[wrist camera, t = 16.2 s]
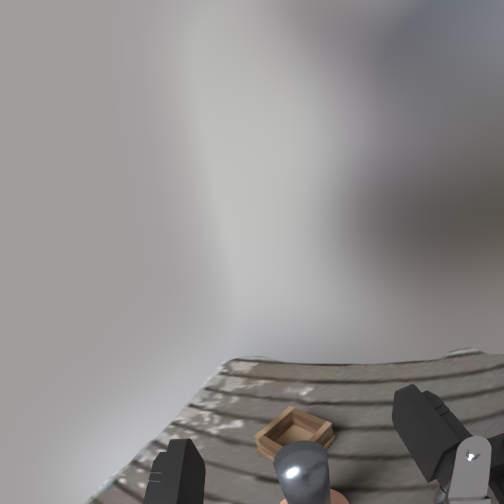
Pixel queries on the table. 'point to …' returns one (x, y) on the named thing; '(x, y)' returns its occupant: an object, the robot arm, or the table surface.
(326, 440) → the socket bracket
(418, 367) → the table surface
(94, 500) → the table surface
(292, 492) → the rod
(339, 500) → the pad
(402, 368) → the table surface
